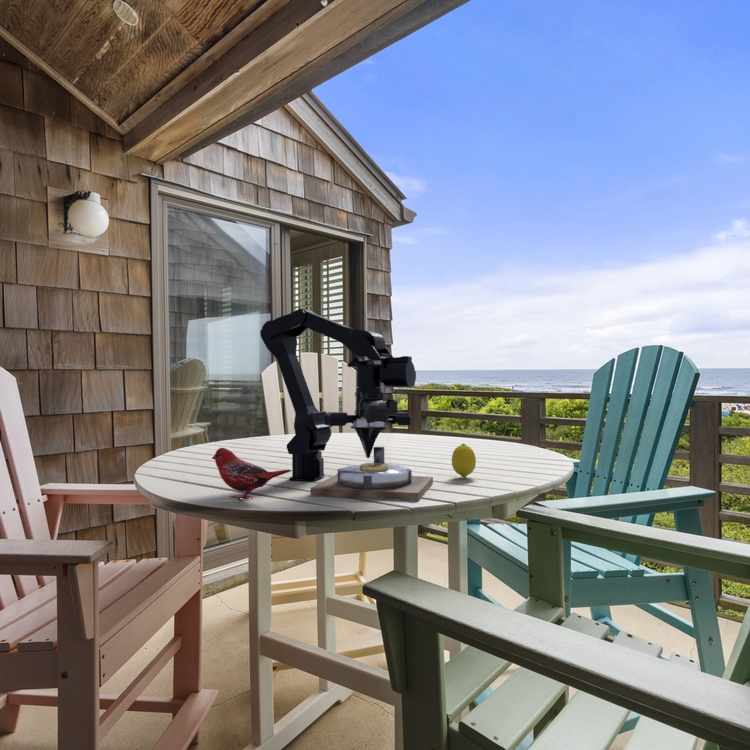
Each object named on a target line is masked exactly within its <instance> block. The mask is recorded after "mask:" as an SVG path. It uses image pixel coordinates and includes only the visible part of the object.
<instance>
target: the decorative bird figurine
mask: <svg viewBox="0 0 750 750" xmlns="http://www.w3.org/2000/svg"><path fill="white" fill-rule="evenodd" d="M212 459H213V460H214V461H215V462H214V463H215V465H216V467H217V470H218V473H219V476H220V478H221V480H222V481H223V482H224V483H225V484H226V485H227V486H229V488H231V489H233V490H235V491H238V492H242V494H241V495H235V496H234V495H229V498H234V499H236V498H243V499H242V500H250V499H254V498H252V497H251V496H250V495H249V494H250V493H251V492H253V491H254V490H255V489H258V488H262V487H264V486H265V485H266V484H267V483H268V482H269V481H270V480H272V479H273V478H274V479H275V478H276V477H278V476H279V477H280V476H282V475H285V474H287V473H290V472H292V469H283V470H275V471H268V470H266V469H265V468H263V467H261V466H259V465H256V464H255V463H251V462H248V461H245V460H244V459H241V458H239V457H238V456H237V455H236V454H235V453H234V451H233V452H232V450H229V449H227V448H225V447H219V448H218V449H217V450H216V451H215V453H214V455H213V456H212V457H211V460H212ZM243 492H244V493H243Z"/></svg>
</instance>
